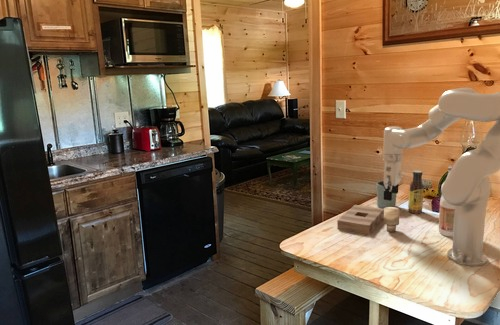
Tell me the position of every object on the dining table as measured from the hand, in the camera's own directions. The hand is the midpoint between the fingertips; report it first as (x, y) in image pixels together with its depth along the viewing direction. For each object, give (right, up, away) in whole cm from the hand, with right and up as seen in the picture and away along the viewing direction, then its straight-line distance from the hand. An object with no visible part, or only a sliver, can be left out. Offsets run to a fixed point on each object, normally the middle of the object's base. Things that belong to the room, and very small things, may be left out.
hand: (390, 196), depth 167 cm
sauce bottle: (+20, -9, +22) cm, 31 cm away
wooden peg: (+1, -15, +3) cm, 15 cm away
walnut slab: (-9, -13, +13) cm, 21 cm away
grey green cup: (+9, -8, +32) cm, 34 cm away
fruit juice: (+24, -15, -3) cm, 28 cm away
